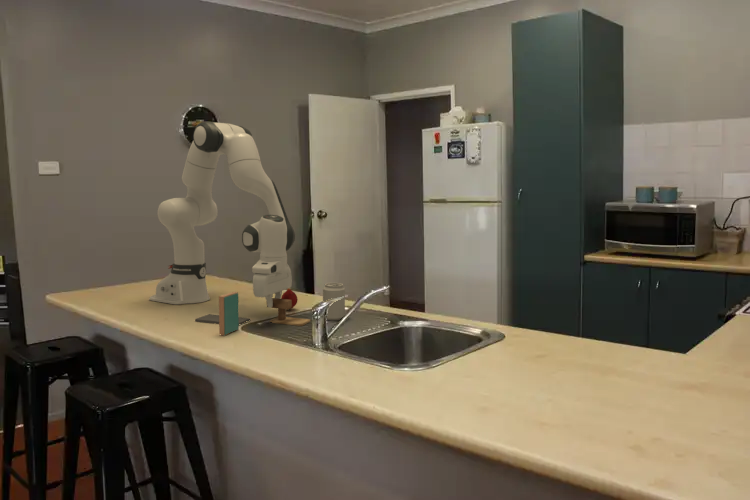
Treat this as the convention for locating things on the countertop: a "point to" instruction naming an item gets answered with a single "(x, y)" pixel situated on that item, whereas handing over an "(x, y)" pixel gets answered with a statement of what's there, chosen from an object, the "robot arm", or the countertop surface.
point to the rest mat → (216, 319)
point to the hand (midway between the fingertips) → (273, 305)
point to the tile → (228, 313)
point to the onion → (290, 296)
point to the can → (337, 307)
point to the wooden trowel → (282, 319)
